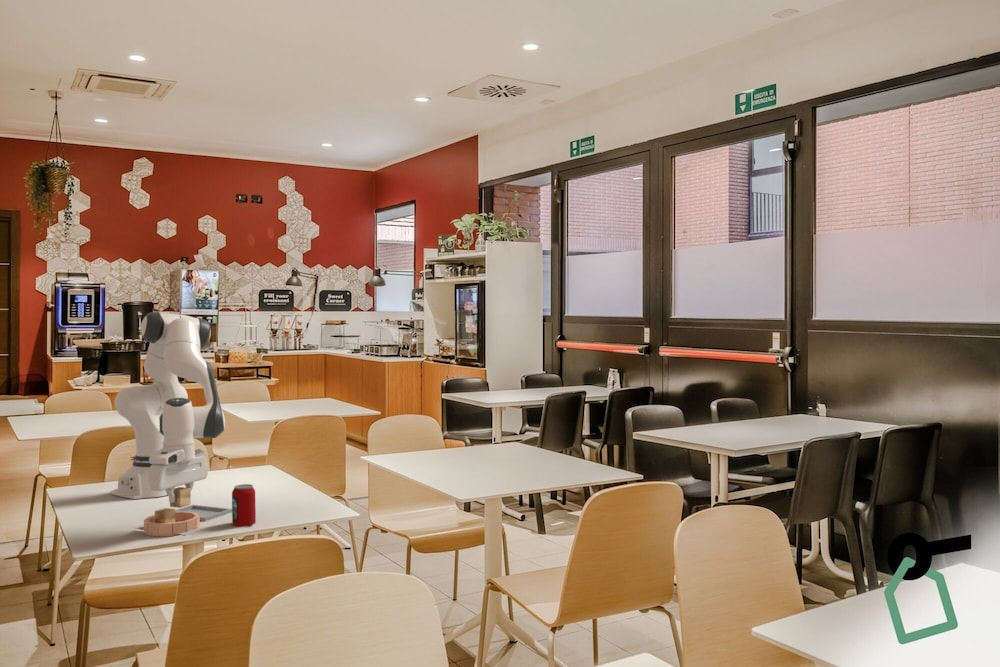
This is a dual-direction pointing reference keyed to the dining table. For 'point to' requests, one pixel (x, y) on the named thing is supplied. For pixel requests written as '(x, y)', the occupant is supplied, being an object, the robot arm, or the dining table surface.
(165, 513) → the block left
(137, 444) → the robot arm
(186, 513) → the bowl
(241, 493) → the beverage can
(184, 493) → the block right
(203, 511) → the tray
